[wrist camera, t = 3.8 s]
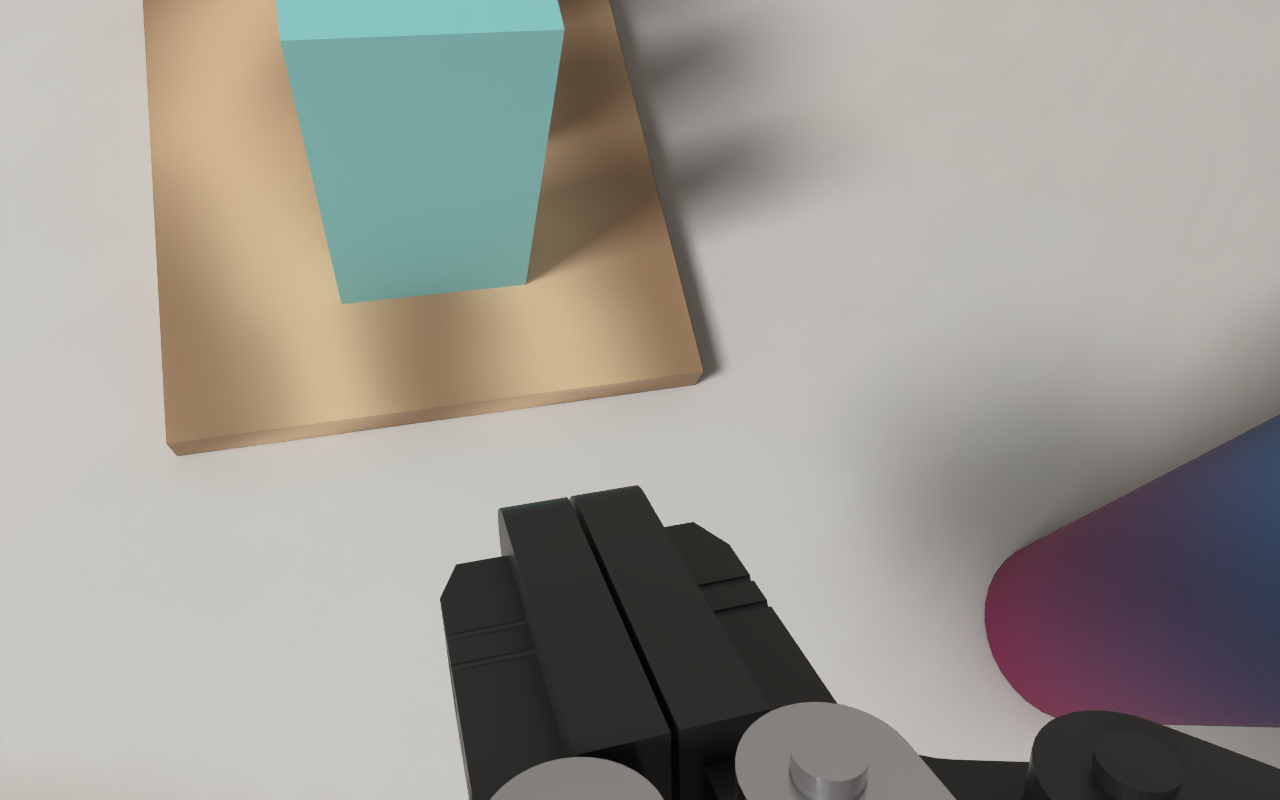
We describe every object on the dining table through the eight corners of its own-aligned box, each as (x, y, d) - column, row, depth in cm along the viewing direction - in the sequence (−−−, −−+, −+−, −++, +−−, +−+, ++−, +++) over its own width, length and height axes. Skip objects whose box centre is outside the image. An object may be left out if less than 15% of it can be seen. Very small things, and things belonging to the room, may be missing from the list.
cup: (1051, 469, 29) (1599, 194, 15) (1216, 648, 28) (1972, 525, 14) (906, 610, 26) (1404, 433, 13) (1081, 813, 25) (1840, 862, 11)
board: (542, -224, 36) (545, -250, 35) (695, 384, 28) (703, 371, 27) (137, -235, 32) (128, -265, 31) (177, 455, 24) (166, 443, 23)
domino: (516, 235, 27) (549, -38, 18) (525, 284, 27) (564, 29, 18) (335, 252, 26) (272, -32, 17) (341, 304, 25) (279, 40, 16)
